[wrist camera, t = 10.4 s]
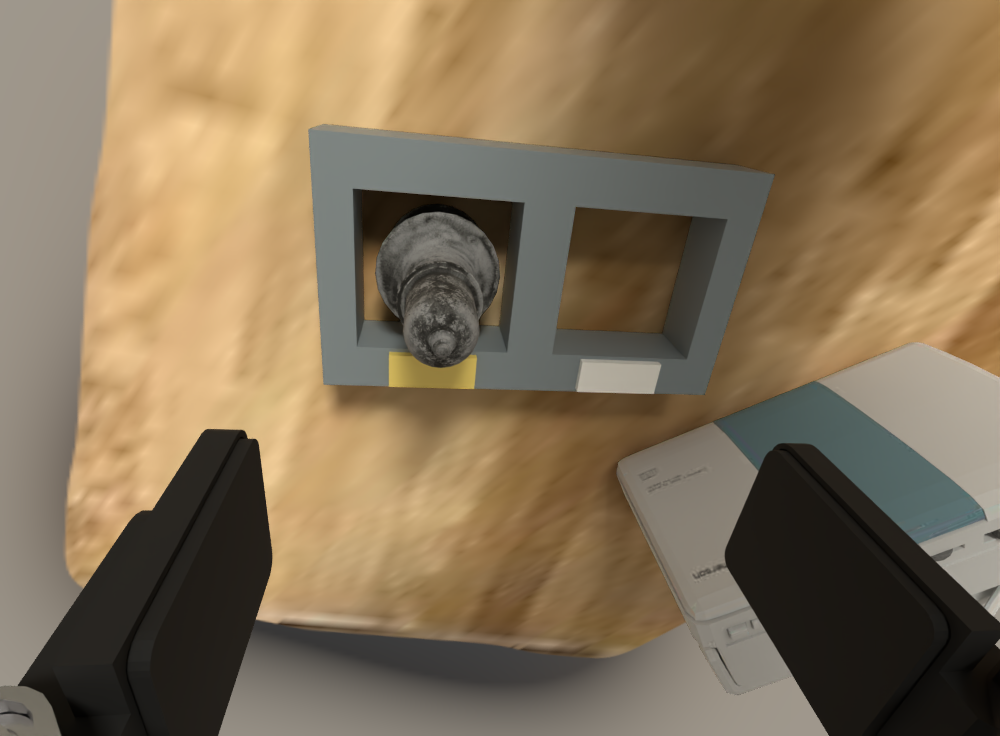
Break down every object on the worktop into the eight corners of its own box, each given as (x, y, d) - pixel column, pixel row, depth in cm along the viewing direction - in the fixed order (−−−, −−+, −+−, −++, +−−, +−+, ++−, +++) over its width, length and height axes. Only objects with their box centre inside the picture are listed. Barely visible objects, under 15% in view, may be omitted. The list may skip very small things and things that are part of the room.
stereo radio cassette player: (907, 324, 34) (1417, 575, 17) (909, 420, 38) (1323, 705, 20) (604, 447, 36) (774, 793, 18) (635, 526, 40) (800, 875, 22)
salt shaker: (507, 218, 28) (554, 297, 17) (473, 318, 30) (497, 441, 20) (396, 182, 26) (374, 244, 16) (370, 290, 29) (336, 407, 18)
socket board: (323, 124, 25) (306, 129, 21) (736, 165, 28) (780, 175, 24) (334, 354, 30) (322, 388, 27) (679, 366, 33) (708, 398, 30)
